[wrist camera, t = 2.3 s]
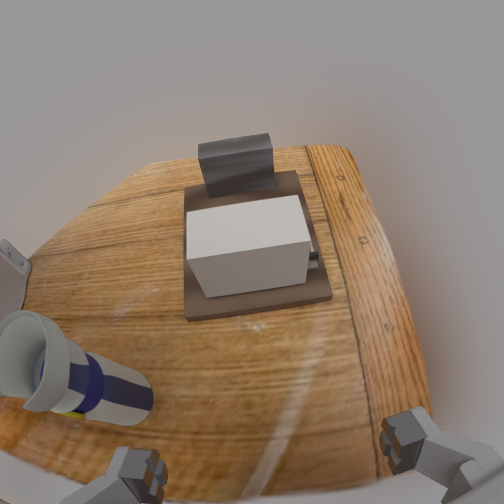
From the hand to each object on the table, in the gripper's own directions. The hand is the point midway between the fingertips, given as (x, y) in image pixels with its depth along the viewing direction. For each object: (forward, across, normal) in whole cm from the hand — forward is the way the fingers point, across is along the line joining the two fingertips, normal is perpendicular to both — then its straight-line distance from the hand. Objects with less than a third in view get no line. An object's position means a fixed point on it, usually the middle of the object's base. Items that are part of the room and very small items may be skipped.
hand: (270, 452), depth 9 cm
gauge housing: (+30, -1, 0) cm, 30 cm away
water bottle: (+21, +18, +13) cm, 30 cm away
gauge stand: (+35, 0, -2) cm, 35 cm away
